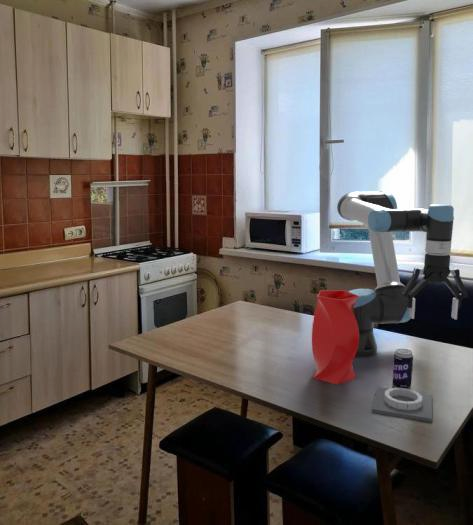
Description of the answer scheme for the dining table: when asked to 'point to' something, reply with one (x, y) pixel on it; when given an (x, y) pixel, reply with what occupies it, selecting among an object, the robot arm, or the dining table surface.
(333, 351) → the vase
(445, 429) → the dining table surface
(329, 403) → the dining table surface
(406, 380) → the beverage can
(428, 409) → the ring seat
